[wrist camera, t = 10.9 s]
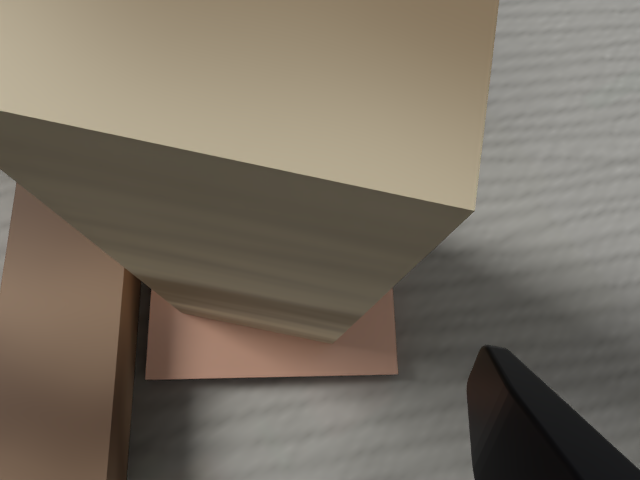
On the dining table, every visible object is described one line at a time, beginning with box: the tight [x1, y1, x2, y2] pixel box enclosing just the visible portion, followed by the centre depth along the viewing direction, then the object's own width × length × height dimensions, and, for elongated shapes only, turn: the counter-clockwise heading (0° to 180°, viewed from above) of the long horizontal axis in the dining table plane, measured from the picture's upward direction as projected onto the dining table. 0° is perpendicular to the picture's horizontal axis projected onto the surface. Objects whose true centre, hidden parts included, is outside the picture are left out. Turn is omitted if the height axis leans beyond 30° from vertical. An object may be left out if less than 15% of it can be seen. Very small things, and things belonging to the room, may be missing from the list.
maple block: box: [0, 0, 499, 344], centre depth 11 cm, size 5×5×13 cm
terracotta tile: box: [145, 288, 398, 380], centre depth 18 cm, size 8×8×1 cm
